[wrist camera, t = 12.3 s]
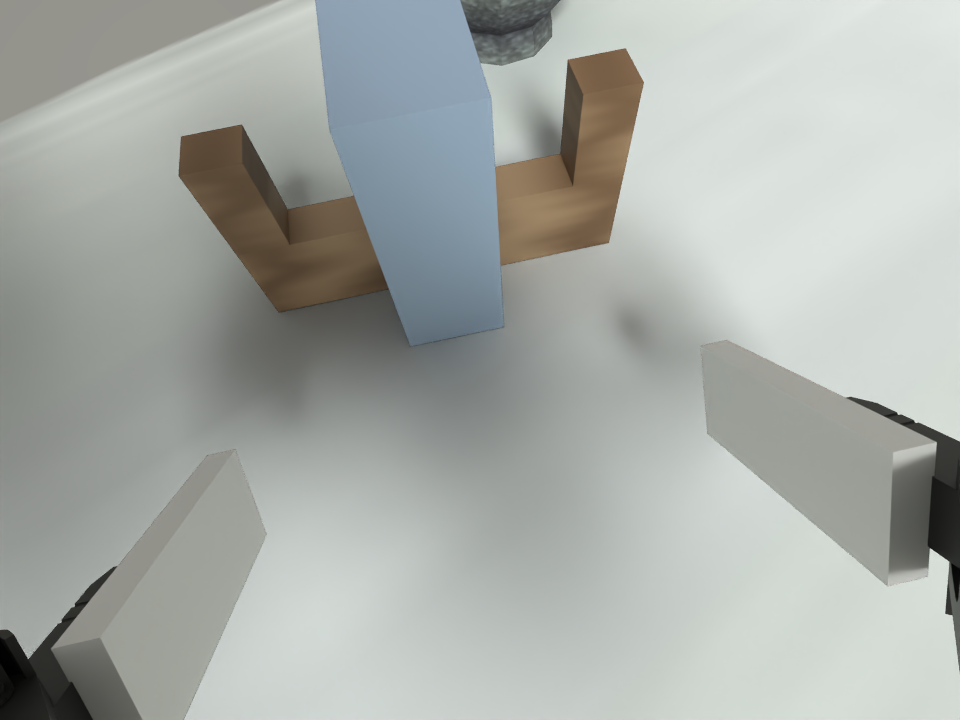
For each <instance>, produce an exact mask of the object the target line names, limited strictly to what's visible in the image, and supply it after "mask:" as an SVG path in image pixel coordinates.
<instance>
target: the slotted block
mask: <svg viewBox="0 0 960 720" xmlns="http://www.w3.org/2000/svg"><path fill="white" fill-rule="evenodd" d="M315 3H316V12H317V21H318V30H319V39H320V49H321V58H322V67H323V76H324V85H325V94H326V104H327V113H328V122H329V130H330V133H331V135H332V138H333V141H334V143H335V146H336V149H337V151H338V154H339V157H340V159H341V162H342V165H343V167H344V170H345V173H346V176H347V178H348V181H349V184H350V186H351V189H352V192H353V194H354V197H355V200H356V202H357V205H358V208H359V210H360V213H361V216H362V218H363V221H364V224H365V226H366V229H367V232H368V234H369V237H370V240H371V242H372V245H373V248H374V250H375V253H376V256H377V258H378V261H379V264H380V266H381V269H382V272H383V274H384V277H385V280H386V282H387V285H388V288H389V291H390V293H391V296H392V299H393V301H394V304H395V307H396V309H397V312H398V315H399V317H400V320H401V323H402V325H403V328H404V331H405V333H406V336H407V339H408V341H409V344H410V347H411V346H415V345H420V344H425V343H430V342H434V341H439V340H444V339H449V338H454V337H458V336H463V335H468V334H473V333H477V332H482V331H487V330H492V329H497V328H501V327H504V320H503V302H502V284H501V266H500V247H499V229H498V211H497V193H496V174H495V156H494V138H493V120H492V102H491V95H490V92H489V89H488V86H487V83H486V80H485V77H484V74H483V70H482V67H481V64H480V61H479V58H478V55H477V52H476V49H475V45H474V42H473V39H472V36H471V33H470V30H469V27H468V24H467V20H466V17H465V14H464V11H463V8H462V5H461V2H460V0H315Z"/></svg>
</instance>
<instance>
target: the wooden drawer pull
mask: <svg viewBox="0 0 960 720" xmlns="http://www.w3.org/2000/svg"><path fill="white" fill-rule="evenodd" d="M643 84H644V82H643V80H642V78H641V76H640V74H639V72H638V71H637V69H636V67H635V65H634V63H633V61H632V59H631V57H630V56H629V54H628V52H627V50H626V48H625V49H620V50H615V51H610V52H605V53H600V54H595V55H590V56H585V57H580V58H575V59H570V60H568V64H567V76H566V89H565V102H564V114H563V127H562V139H561V152H560V154H557V155H552V156H547V157H542V158H537V159H532V160H527V161H522V162H518V163H513V164H508V165H503V166H498V167H495V174H496V193H497V211H498V229H499V247H500V265H505V264H510V263H515V262H519V261H524V260H529V259H534V258H538V257H543V256H548V255H552V254H557V253H562V252H567V251H571V250H576V249H581V248H586V247H590V246H595V245H600V244H605V243H609V240H610V235H611V230H612V226H613V221H614V217H615V212H616V208H617V203H618V198H619V194H620V189H621V185H622V180H623V175H624V171H625V166H626V162H627V157H628V153H629V148H630V143H631V139H632V134H633V130H634V125H635V121H636V116H637V111H638V107H639V102H640V98H641V93H642V89H643ZM179 177H180V179H181V180H182V181H183V183H184V184H185V185H186V187H187V188H188V189H189V191H190V192H191V194H192V195H193V196H194V198H195V199H196V200H197V202H198V203H199V204H200V206H201V207H202V208H203V210H204V211H205V213H206V214H207V215H208V217H209V218H210V219H211V221H212V222H213V223H214V225H215V226H216V228H217V229H218V230H219V232H220V233H221V234H222V236H223V237H224V238H225V240H226V241H227V243H228V244H229V245H230V247H231V248H232V249H233V251H234V252H235V253H236V255H237V256H238V258H239V259H240V260H241V262H242V263H243V264H244V266H245V267H246V268H247V270H248V271H249V272H250V274H251V275H252V277H253V278H254V279H255V281H256V282H257V283H258V285H259V286H260V287H261V289H262V290H263V292H264V293H265V294H266V296H267V297H268V298H269V300H270V301H271V302H272V304H273V305H274V307H275V308H276V309H277V311H278V312H282V311H287V310H292V309H297V308H301V307H306V306H311V305H316V304H320V303H325V302H330V301H335V300H339V299H344V298H349V297H354V296H358V295H363V294H368V293H372V292H377V291H382V290H387V289H389V288H388V285H387V282H386V280H385V277H384V274H383V272H382V269H381V266H380V264H379V261H378V258H377V256H376V253H375V250H374V248H373V245H372V242H371V240H370V237H369V234H368V232H367V229H366V226H365V224H364V221H363V218H362V216H361V213H360V210H359V208H358V205H357V202H356V200H355V197H354V196H351V197H346V198H342V199H337V200H332V201H327V202H322V203H317V204H312V205H307V206H302V207H298V208H293V209H287V207H286V205H285V204H284V202H283V200H282V198H281V196H280V194H279V192H278V191H277V189H276V187H275V185H274V183H273V181H272V180H271V178H270V176H269V174H268V172H267V170H266V168H265V167H264V165H263V163H262V161H261V159H260V157H259V155H258V154H257V152H256V150H255V148H254V146H253V144H252V142H251V141H250V139H249V137H248V135H247V133H246V131H245V129H244V128H243V126H242V125H237V126H232V127H227V128H222V129H217V130H212V131H207V132H202V133H197V134H192V135H187V136H182V137H181V146H180V162H179Z"/></svg>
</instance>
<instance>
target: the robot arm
mask: <svg viewBox="0 0 960 720" xmlns="http://www.w3.org/2000/svg"><path fill="white" fill-rule="evenodd" d="M701 357H702V371H703V384H704V397H705V410H706V424H707V434H708V435H710V436H711V437H712V438H713V439H714V440H715V441H717V442H718V443H719V444H720V445H721V446H723V447H724V448H725V449H726V450H727V451H728V452H730V453H731V454H732V455H733V456H734V457H736V458H737V459H738V460H739V461H740V462H741V463H743V464H744V465H745V466H746V467H747V468H748V469H750V470H751V471H752V472H753V473H754V474H756V475H757V476H758V477H759V478H760V479H761V480H763V481H764V482H765V483H766V484H767V485H769V486H770V487H771V488H772V489H773V490H774V491H776V492H777V493H778V494H779V495H780V496H782V497H783V498H784V499H785V500H786V501H787V502H789V503H790V504H791V505H792V506H793V507H795V508H796V509H797V510H798V511H799V512H800V513H802V514H803V515H804V516H805V517H806V518H808V519H809V520H810V521H811V522H812V523H813V524H815V525H816V526H817V527H818V528H819V529H820V530H822V531H823V532H824V533H825V534H826V535H828V536H829V537H830V538H831V539H832V540H833V541H835V542H836V543H837V544H838V545H839V546H841V547H842V548H843V549H844V550H845V551H846V552H848V553H849V554H850V555H851V556H852V557H854V558H855V559H856V560H857V561H858V562H859V563H861V564H862V565H863V566H864V567H865V568H867V569H868V570H869V571H870V572H871V573H872V574H874V575H875V576H876V577H877V578H878V579H879V580H881V581H882V582H883V583H884V584H885V585H887V586H892V585H896V584H900V583H904V582H908V581H912V580H917V579H921V578H925V577H928V565H929V550H930V548H931V549H932V550H934V551H935V552H937V553H938V554H939V555H941V556H942V557H944V558H945V559H947V560H948V561H949V575H948V587H947V599H946V612H945V614H949V615H953V622H954V630H955V638H956V646H957V654H958V662H959V670H960V442H959V441H957V440H955V439H953V438H951V437H949V436H946V435H944V434H942V433H940V432H938V431H936V430H934V429H931V428H929V427H927V426H925V425H923V424H921V423H915V422H914V420H912V419H910V418H908V417H906V416H903V415H898V414H897V412H895V411H893V410H891V409H888V408H886V407H884V406H882V405H880V404H878V403H874V402H870V401H866V400H862V399H858V398H853V397H847V398H845V397H843V396H841V395H839V394H837V393H835V392H833V391H831V390H829V389H827V388H824V387H822V386H820V385H818V384H816V383H814V382H812V381H810V380H808V379H806V378H804V377H802V376H800V375H798V374H796V373H794V372H792V371H790V370H788V369H785V368H783V367H781V366H779V365H777V364H775V363H773V362H771V361H769V360H767V359H765V358H763V357H761V356H759V355H757V354H755V353H753V352H751V351H749V350H746V349H744V348H742V347H740V346H738V345H736V344H734V343H732V342H730V341H728V340H724V341H720V342H715V343H711V344H706V345H702V346H701ZM266 535H267V533H266V531H265V528H264V525H263V523H262V520H261V517H260V514H259V512H258V509H257V506H256V504H255V501H254V498H253V496H252V493H251V490H250V488H249V485H248V482H247V480H246V477H245V474H244V471H243V469H242V466H241V463H240V461H239V458H238V455H237V453H236V450H235V449H234V450H230V451H225V452H221V453H216V454H212V455H207V456H206V458H205V459H204V460H203V461H202V463H201V464H200V465H199V466H198V467H197V469H196V470H195V471H194V472H193V474H192V475H191V476H190V477H189V479H188V480H187V481H186V482H185V484H184V485H183V486H182V487H181V488H180V490H179V491H178V492H177V493H176V495H175V496H174V497H173V498H172V500H171V501H170V502H169V503H168V505H167V506H166V507H165V508H164V510H163V511H162V512H161V513H160V514H159V516H158V517H157V518H156V519H155V521H154V522H153V523H152V524H151V526H150V527H149V528H148V529H147V531H146V532H145V533H144V534H143V536H142V537H141V538H140V539H139V540H138V542H137V543H136V544H135V545H134V547H133V548H132V549H131V550H130V552H129V553H128V554H127V555H126V557H125V558H124V559H123V560H122V562H121V563H120V564H119V565H118V566H116V567H113V568H112V569H110V570H109V571H108V572H107V573H105V574H104V575H103V576H102V577H100V578H99V579H98V580H97V581H95V582H94V583H93V584H91V585H90V586H89V588H88V589H87V590H86V591H85V592H84V594H83V595H82V596H81V597H80V598H79V600H78V601H77V602H76V603H75V607H73V608H71V609H70V610H69V612H68V613H67V614H66V615H65V616H64V617H63V619H62V623H60V624H58V625H57V626H56V627H55V628H54V629H53V631H52V632H51V633H50V634H49V635H48V637H47V638H46V639H45V640H44V641H43V643H42V644H41V645H40V646H39V647H38V649H37V650H36V651H35V652H34V653H33V654H32V656H31V657H30V658H29V659H28V658H27V657H26V655H25V653H24V652H23V650H22V648H21V646H20V645H19V643H18V641H17V639H16V638H15V636H14V634H12V633H11V632H10V631H9V630H0V720H184V718H185V716H186V714H187V711H188V709H189V707H190V705H191V702H192V700H193V698H194V696H195V694H196V691H197V689H198V687H199V685H200V682H201V680H202V678H203V676H204V673H205V671H206V669H207V667H208V665H209V662H210V660H211V658H212V656H213V653H214V651H215V649H216V647H217V645H218V642H219V640H220V638H221V636H222V633H223V631H224V629H225V627H226V624H227V622H228V620H229V618H230V616H231V613H232V611H233V609H234V607H235V604H236V602H237V600H238V598H239V595H240V593H241V591H242V589H243V587H244V584H245V582H246V580H247V578H248V575H249V573H250V571H251V569H252V566H253V564H254V562H255V560H256V558H257V555H258V553H259V551H260V549H261V546H262V544H263V542H264V540H265V537H266Z"/></svg>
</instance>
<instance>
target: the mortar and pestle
mask: <svg viewBox="0 0 960 720" xmlns="http://www.w3.org/2000/svg"><path fill="white" fill-rule="evenodd" d="M559 1H560V0H460V2H461V5H462V8H463V11H464V14H465V17H466V20H467V24H468V27H469V30H470V33H471V36H472V39H473V42H474V45H475V49H476V52H477V55H478V58H479V61H480V63H486V64H494V65H506V64H509V63H512V62H516V61H519V60H522V59H525V58H529V57H532V56H535V55H536V54H537V52H538V51H539V50H540V49H541V48H542V47H543V46H544V45H545V44H546V43H547V42H548V41H549V39H550V38H551V37H552V20H551V14H550V10H551V9H552V8H553V7H554V6H555V5H556V4H557V3H558V2H559Z"/></svg>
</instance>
